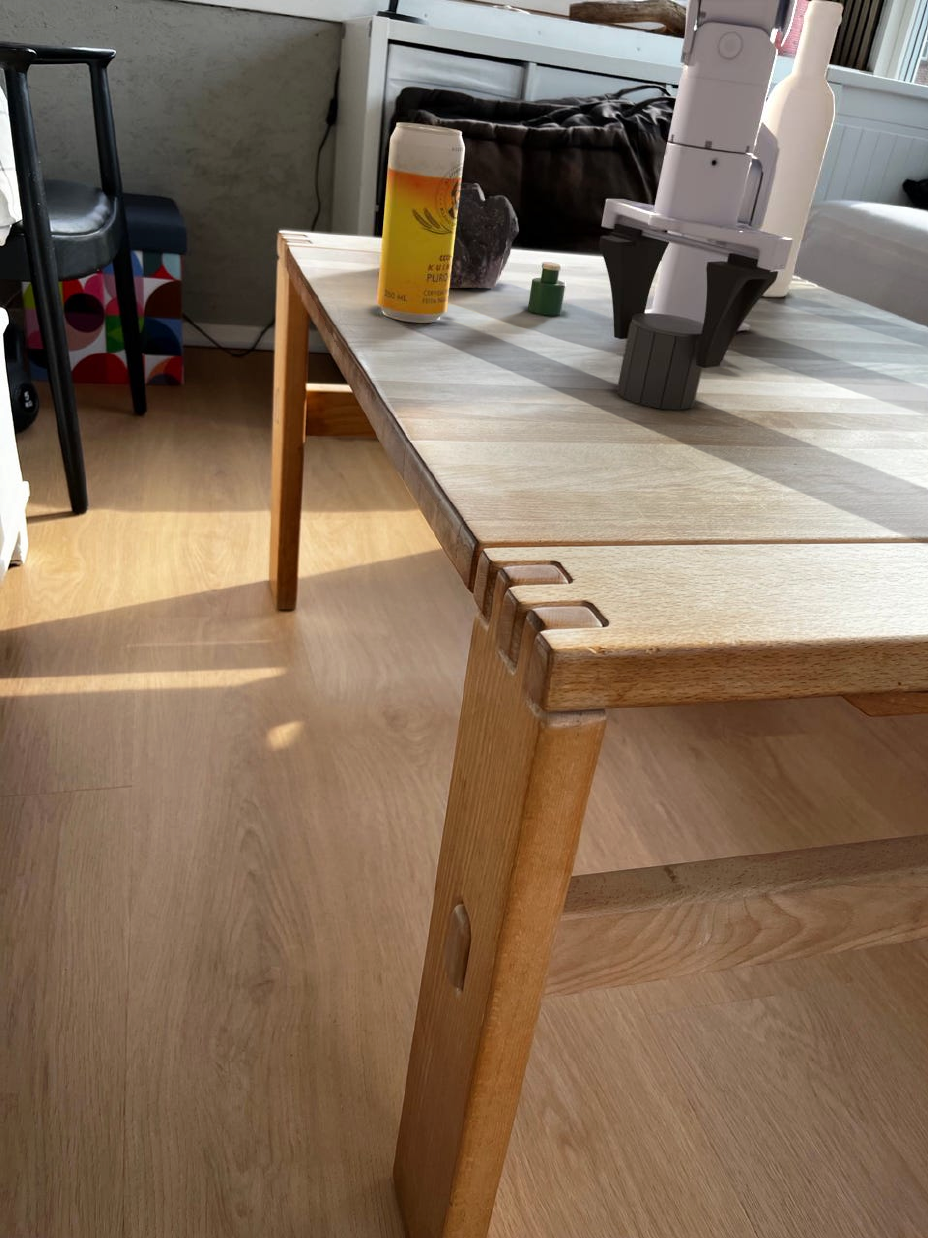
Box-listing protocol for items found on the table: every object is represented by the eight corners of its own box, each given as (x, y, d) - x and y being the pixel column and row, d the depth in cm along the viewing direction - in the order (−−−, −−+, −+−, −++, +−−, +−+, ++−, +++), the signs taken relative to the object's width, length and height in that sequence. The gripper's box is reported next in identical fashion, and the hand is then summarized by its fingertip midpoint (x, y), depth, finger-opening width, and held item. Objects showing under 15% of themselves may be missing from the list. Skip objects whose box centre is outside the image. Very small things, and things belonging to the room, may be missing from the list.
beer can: (437, 328, 87) (458, 134, 79) (367, 316, 87) (382, 122, 80) (451, 314, 92) (473, 131, 85) (386, 303, 93) (402, 120, 85)
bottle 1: (543, 306, 100) (551, 259, 98) (567, 314, 98) (575, 267, 96) (520, 308, 98) (527, 260, 96) (544, 316, 96) (552, 268, 94)
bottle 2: (796, 293, 125) (873, 9, 110) (775, 300, 119) (854, 1, 104) (734, 279, 128) (801, 2, 114) (711, 285, 122) (779, -6, 108)
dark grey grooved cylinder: (649, 382, 80) (664, 310, 77) (708, 404, 76) (726, 330, 74) (602, 389, 76) (616, 315, 74) (662, 413, 73) (679, 336, 70)
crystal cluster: (355, 281, 102) (367, 177, 97) (402, 252, 113) (415, 156, 108) (481, 317, 100) (500, 212, 95) (516, 283, 111) (536, 187, 106)
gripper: (589, 129, 70) (556, 328, 77) (770, 162, 61) (715, 385, 68) (653, 134, 74) (616, 323, 81) (829, 166, 66) (772, 375, 72)
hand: (665, 350), depth 75 cm, fingers open, 7 cm apart
